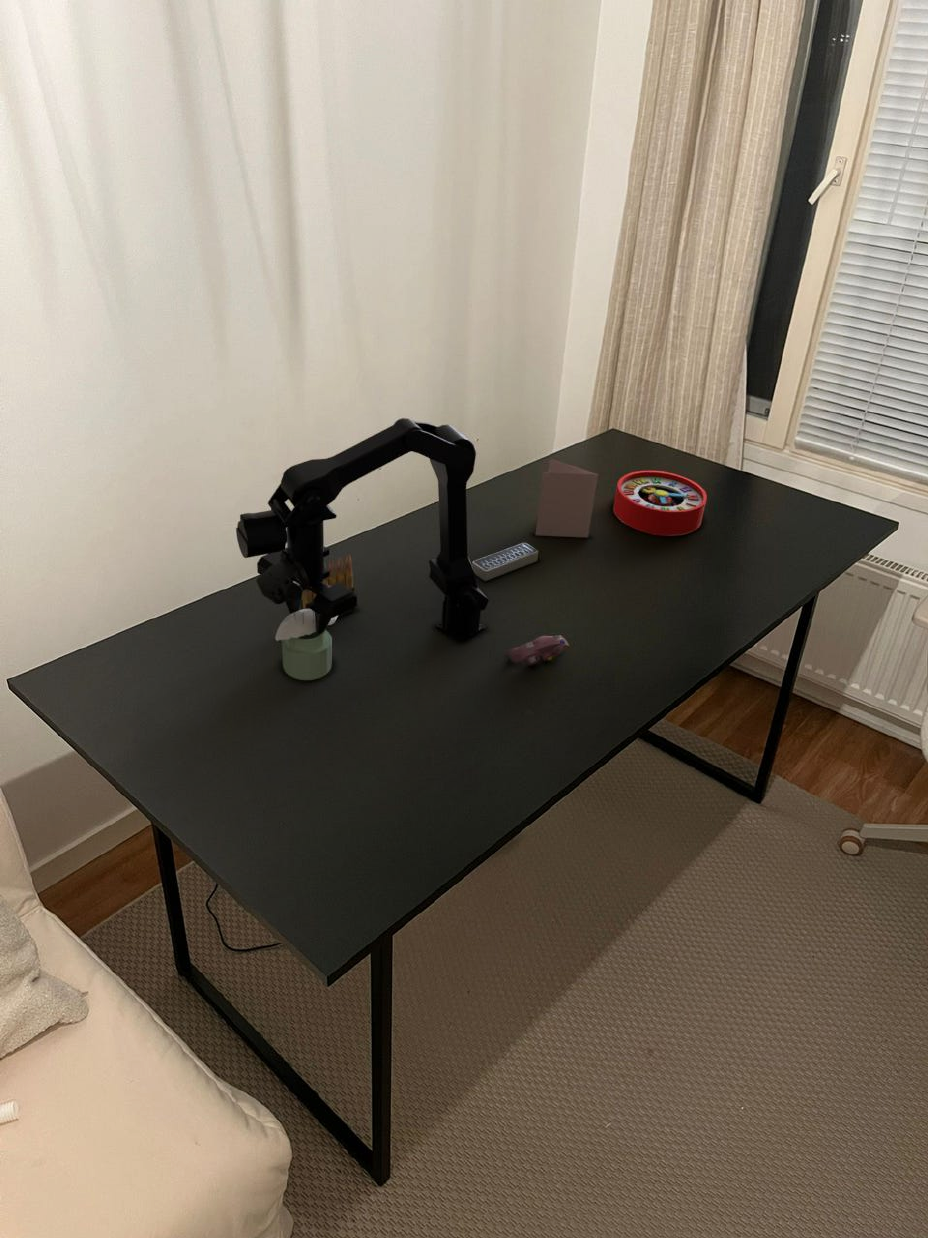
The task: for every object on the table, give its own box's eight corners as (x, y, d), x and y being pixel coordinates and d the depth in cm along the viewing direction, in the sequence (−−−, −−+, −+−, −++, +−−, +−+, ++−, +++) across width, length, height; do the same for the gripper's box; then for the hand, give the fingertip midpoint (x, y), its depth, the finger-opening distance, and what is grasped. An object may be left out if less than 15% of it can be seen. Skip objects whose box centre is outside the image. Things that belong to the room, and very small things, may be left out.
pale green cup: (341, 666, 172) (341, 631, 168) (304, 686, 167) (303, 650, 163) (310, 645, 176) (309, 610, 172) (273, 664, 171) (271, 628, 167)
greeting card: (589, 535, 216) (599, 473, 208) (573, 549, 211) (583, 485, 203) (543, 519, 221) (551, 457, 213) (527, 532, 216) (534, 469, 207)
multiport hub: (470, 571, 201) (471, 561, 199) (523, 551, 209) (524, 541, 208) (485, 581, 198) (485, 571, 197) (538, 560, 206) (539, 550, 205)
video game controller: (515, 676, 176) (527, 657, 170) (504, 654, 178) (517, 635, 172) (562, 663, 180) (576, 645, 174) (552, 642, 182) (565, 623, 176)
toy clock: (612, 467, 232) (698, 473, 232) (608, 490, 235) (693, 496, 236) (622, 508, 215) (714, 515, 216) (618, 532, 219) (708, 538, 219)
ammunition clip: (305, 628, 181) (304, 572, 174) (300, 623, 182) (299, 567, 175) (355, 610, 186) (355, 555, 180) (349, 605, 188) (350, 550, 181)
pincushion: (327, 609, 173) (326, 582, 169) (347, 626, 169) (347, 598, 166) (266, 632, 166) (265, 604, 163) (286, 650, 162) (285, 622, 159)
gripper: (227, 538, 158) (233, 619, 167) (304, 586, 148) (306, 670, 157) (283, 515, 165) (286, 594, 174) (359, 560, 155) (358, 642, 164)
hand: (307, 624), depth 167 cm, fingers closed on pincushion, 6 cm apart
